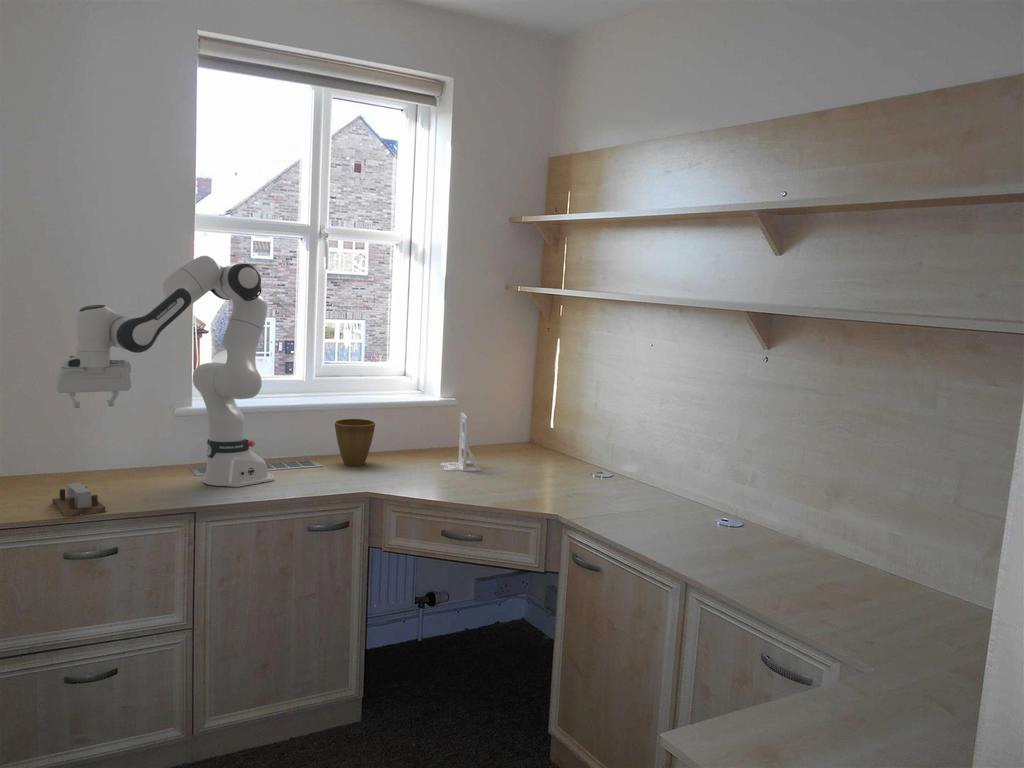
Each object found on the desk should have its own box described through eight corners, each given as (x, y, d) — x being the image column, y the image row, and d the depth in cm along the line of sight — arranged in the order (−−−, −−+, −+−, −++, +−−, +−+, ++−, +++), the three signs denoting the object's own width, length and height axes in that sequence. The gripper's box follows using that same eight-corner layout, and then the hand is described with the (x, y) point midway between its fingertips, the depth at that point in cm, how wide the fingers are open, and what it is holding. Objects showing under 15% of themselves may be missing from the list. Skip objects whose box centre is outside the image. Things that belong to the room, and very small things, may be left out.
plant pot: (328, 461, 315) (329, 419, 313) (366, 459, 322) (367, 418, 320) (340, 469, 302) (341, 425, 300) (379, 467, 309) (380, 424, 307)
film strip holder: (439, 463, 321) (441, 411, 319) (475, 463, 324) (477, 412, 322) (443, 471, 307) (445, 417, 305) (480, 471, 310) (483, 418, 307)
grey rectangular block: (79, 497, 244) (79, 482, 243) (90, 506, 235) (90, 491, 234) (66, 498, 241) (66, 484, 241) (77, 508, 232) (77, 492, 232)
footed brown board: (90, 499, 247) (90, 484, 247) (105, 512, 235) (105, 496, 235) (52, 503, 241) (52, 488, 240) (65, 517, 229) (65, 500, 228)
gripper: (127, 358, 255) (127, 403, 257) (52, 359, 242) (53, 407, 244) (134, 360, 251) (134, 406, 252) (57, 362, 238) (58, 410, 239)
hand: (93, 406), depth 248 cm, fingers open, 8 cm apart
